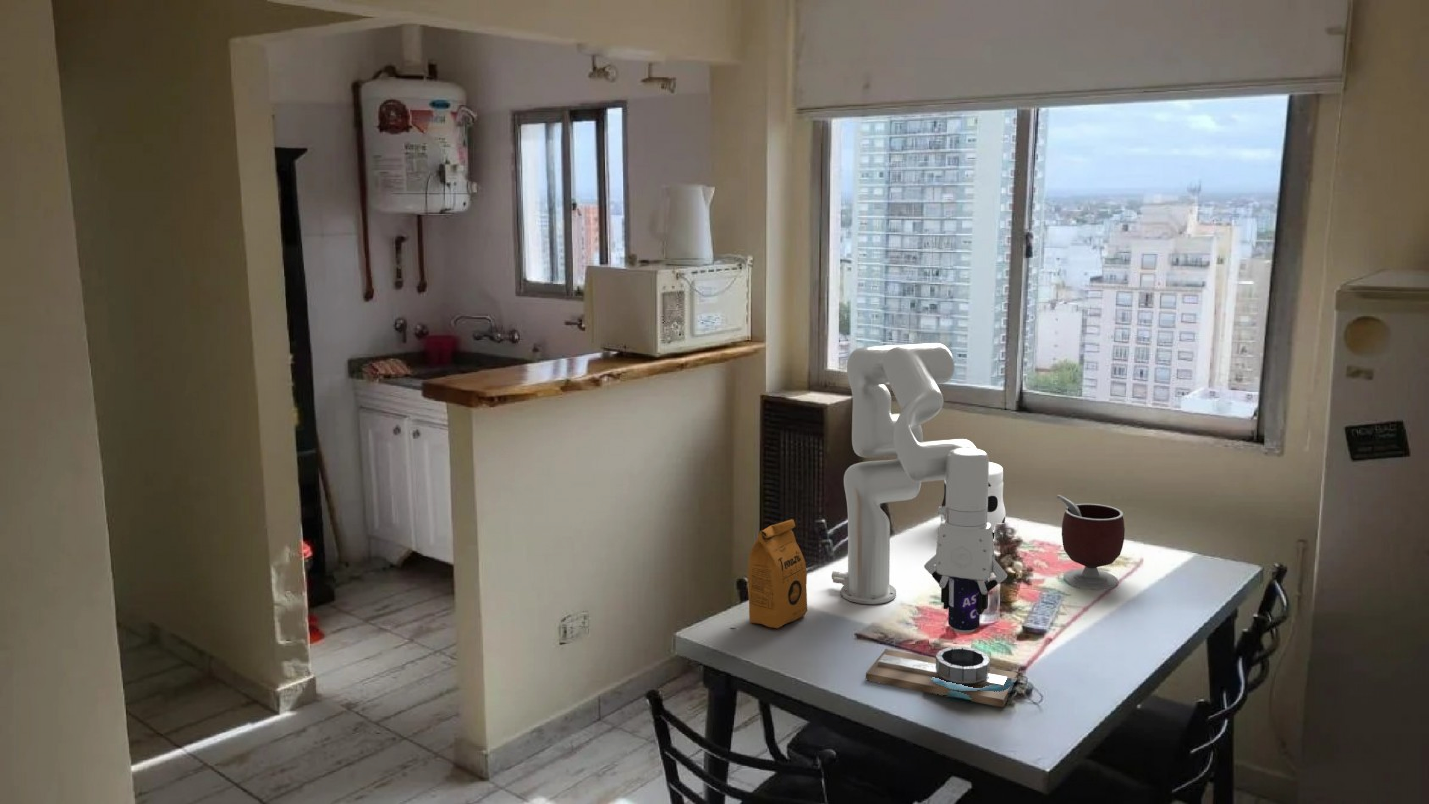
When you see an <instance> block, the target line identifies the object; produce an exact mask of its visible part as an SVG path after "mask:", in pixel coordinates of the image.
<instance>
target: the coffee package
mask: <svg viewBox="0 0 1429 804" xmlns="http://www.w3.org/2000/svg"><path fill="white" fill-rule="evenodd" d="M795 527H796V523H795V521H794V519H793V518H792V519H791V518H790V519H789V520H785V521H781V522H779V523H775V524H771V525H769V526H768V527H765V528H764V529H762V530H760V532H759V534H758V536H757V537H756V540H755V542H754V544H753V546H752V548H751V551H750V553H749V559H748V579H747V581H748V582H747V583H748V584H747V585H748V586H747V589H748V607H749V608H748V615H749V623H752V624H761V625H763V626H765V627H768V628H775V629H779V628H781V627H782V626H783V625H786V624H788V623H791V622H794V621H797V620H798V619H800V618H801V617H804V616H805V615H806V614H807V611H808V594H807V584H808V580H807V579H808V576H807V575H808V571H807V566H806V560H805V558H804V555H803V553H802V551H801V548H800V547H799V545H798V543H797V541H796V537H795V534H794V531H793V530H792V529H794V528H795Z"/></svg>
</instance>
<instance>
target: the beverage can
mask: <svg viewBox="0 0 1429 804" xmlns="http://www.w3.org/2000/svg"><path fill="white" fill-rule="evenodd" d="M979 592H980V588H979V585H978V582H977V580H970V579H966V578H961V577H949V608H948V615H947V617H948V619H947V620H948V621H947V623H948V625H949V626H950V627H951V628H952V629H951V630H953V631H955V632H957V633H961V634H970V633H973V632H975V631H976V630H977V629H978V628H979V627H980V623H981V622H980V621H981V620H980V619H981V617H980V614H978V613H977V604H978V593H979Z"/></svg>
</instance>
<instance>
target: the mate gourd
mask: <svg viewBox="0 0 1429 804" xmlns="http://www.w3.org/2000/svg"><path fill="white" fill-rule="evenodd" d="M1056 498H1057V499H1059V500H1061V501H1062V502H1063V503H1064V504H1065V505H1066V507H1065V509H1064V511H1065V512H1064V514H1063V518H1062V523H1061V541H1062V546H1063V547H1062V548H1063V550H1064V551H1065V553H1066V555H1067V556H1068V557H1069V559H1070V560H1071V561H1073V562H1074V563H1076V564H1079V565H1082V566H1084V568H1081V569H1080V568H1079V569H1071V570H1069V571H1066V572H1064V574H1063V576H1062V577H1063V581H1064V582H1065V584H1067V583H1068V584H1067V585H1069V586H1072V587H1074V588H1079V589H1082V590H1088V589H1090V591H1107V590H1112V589H1114V588H1116V587H1118V585H1119V579H1118V577H1117V576H1115V575H1113V574H1111V573H1108V572H1106V571H1102V570H1098V568H1101V567H1105V566H1109V565H1112V564H1113V563H1114V562H1115V561H1116V560H1117V558H1119V557H1120V555H1121V553H1122V551H1123V548H1124V547H1123V546H1124V542H1125V532H1126V530H1125V529H1126V528H1125V519H1124V513H1123V511H1122V510H1121V509H1119V508H1116V507H1113V506H1110V505H1105V504H1099V503H1078V504H1077V503H1074V502H1073V501H1071V500H1070V499H1068V498H1066V497H1065V496H1063V495H1061V494H1057V495H1056ZM1104 589H1105V590H1104ZM1106 589H1107V590H1106Z"/></svg>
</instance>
